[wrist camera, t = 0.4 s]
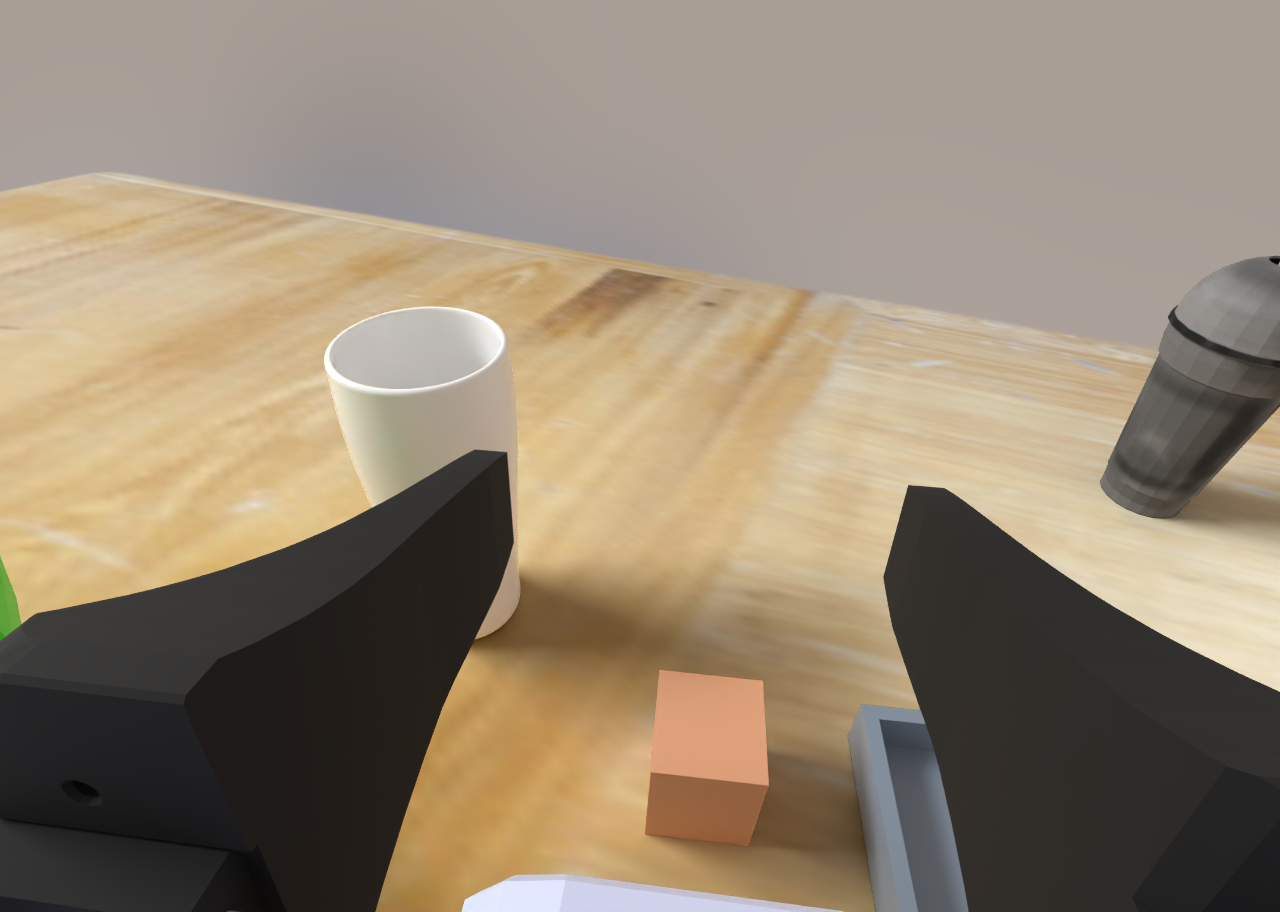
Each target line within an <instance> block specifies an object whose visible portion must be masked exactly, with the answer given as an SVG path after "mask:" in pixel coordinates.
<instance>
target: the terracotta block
mask: <svg viewBox="0 0 1280 912" xmlns="http://www.w3.org/2000/svg"><path fill="white" fill-rule="evenodd" d="M768 787H769V780H768V762H767V744H766V726H765V709H764V691H763V681H760V680H750V679H741V678H731V677H722V676H712V675H703V674H694V673H684V672H675V671H665V670H659V679H658V690H657V701H656V712H655V723H654V734H653V745H652V757H651V769H650V780H649V792H648V804H647V815H646V827H645V834H648V835H656V836H665V837H673V838H682V839H690V840H698V841H707V842H715V843H723V844H732V845H740V846H749V844H750V841H751V838H752V835H753V832H754V829H755V826H756V823H757V820H758V817H759V814H760V811H761V808H762V805H763V802H764V799H765V796H766V793H767V790H768Z"/></svg>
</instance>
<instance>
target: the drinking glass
mask: <svg viewBox="0 0 1280 912" xmlns="http://www.w3.org/2000/svg"><path fill="white" fill-rule="evenodd" d="M324 366H325V369H326V373H327V378H328V382H329V386H330V391H331V395H332V399H333V403H334V406H335V410H336V414H337V417H338V421H339V424H340V427H341V431H342V434H343V437H344V440H345V443H346V446H347V449H348V452H349V455H350V457H351V460H352V462H353V465H354V468H355V470H356V472H357V475H358V477H359V480H360V482H361V484H362V487H363V489H364V491H365V493H366V496H367V498H368V500H369V503H370V505H371V507H374V506H376V505H378V504H380V503H382V502H384V501H386V500H387V499H389V498H391V497H393V496H395V495H397V494H398V493H400V492H402V491H404V490H405V489H407V488H409V487H410V486H412V485H414V484H415V483H417V482H419V481H421V480H422V479H424V478H426V477H427V476H429V475H431V474H432V473H434V472H436V471H437V470H439V469H441V468H442V467H444V466H446V465H447V464H449V463H451V462H452V461H454V460H456V459H458V458H459V457H461V456H463V455H465V454H467V453H469V452H471V451H473V450H475V449H476V450H488V451H500V452H507V456H508V469H509V482H510V495H511V508H512V521H513V534H514V544H513V548H512V551H511V554H510V557H509V561H508V564H507V567H506V570H505V573H504V576H503V579H502V582H501V585H500V588H499V590H498V592H497V594H496V596H495V599H494V601H493V603H492V605H491V607H490V609H489V611H488V613H487V615H486V617H485V619H484V621H483V623H482V626H481V628H480V630H479V632H478V634H477V636H476V638H475V639H478V638H482V637H484V636H487V635H489V634H491V633H493V632H494V631H496V630H497V629H499V628H500V627H501V626H503V625H504V624H505V623H506V622H507V621H508V620H509V619H510V617H511V616H512V615H513V613H514V611H515V610H516V608H517V605H518V602H519V599H520V591H521V588H520V577H519V569H518V479H519V433H518V413H517V401H516V392H515V383H514V376H513V369H512V362H511V356H510V351H509V343H508V339H507V336H506V334H505V332H504V330H503V329H502V328H501V327H500V326H499V325H498V324H497V323H496V322H494V321H493V320H491V319H489V318H488V317H485V316H483V315H481V314H478V313H475V312H472V311H468V310H463V309H458V308H450V307H416V308H407V309H400V310H395V311H390V312H386V313H382V314H379V315H376V316H373V317H370V318H367V319H365V320H363V321H360V322H358V323H356V324H354V325H352V326H351V327H349V328H347V329H346V330H344V331H343V332H341V333H340V334H339V335H338V336H337V337H336V338H335V339H334V340H333V341H332V342H331V343H330V345H329V346H328V348H327V350H326V353H325V356H324Z"/></svg>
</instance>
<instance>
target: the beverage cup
mask: <svg viewBox="0 0 1280 912" xmlns="http://www.w3.org/2000/svg"><path fill="white" fill-rule="evenodd" d="M1168 319H1169V321H1170V322H1169V324H1168V326H1167V328H1166V330H1165V331H1164V334H1163V337H1162V340H1161V344H1160V347H1159V352H1160V353H1159V355H1158V357H1157V359H1156V361H1155V364H1154V366H1153V368H1152V370H1151V372H1150V374H1149V376H1148V378H1147V380H1146V383H1145V385H1144V387H1143V389H1142V391H1141V393H1140V395H1139V397H1138V399H1137V402H1136V404H1135V406H1134V408H1133V410H1132V412H1131V414H1130V416H1129V418H1128V421H1127V423H1126V425H1125V427H1124V429H1123V431H1122V433H1121V435H1120V437H1119V439H1118V442H1117V444H1116V446H1115V448H1114V450H1113V452H1112V454H1111V456H1110V458H1109V461H1108V465H1107V468H1106V470H1105V473H1104V475H1103V477H1102V479H1101V480H1100V483H1101V488H1102V489H1103V490H1104V492H1105V493H1106V495H1107V496H1109V497H1110V498H1111V499H1112V500H1113V501H1114V502H1116V503H1118V504H1119V505H1121V506H1122V507H1124V508H1126V509H1128V510H1131V511H1133V512H1135V513H1138V514H1141V515H1145V516H1149V517H1155V518H1168V517H1173V516H1174V515H1176V514H1178V513H1179V512H1180V510H1181V509H1182V507H1183V506H1185V505H1186V504H1187V503H1188V502H1189V501H1190V500H1191V499H1192V498H1194V497H1196V496H1197V495H1198V493H1199V492H1200V491H1201V490H1202V489H1203V488H1204V487H1205V486H1206V485H1207V484H1208V483H1209V482H1210V481H1211V479H1212V478H1213V477H1214V476H1215V475H1216V474H1217V473H1218V472H1219V471H1220V470H1221V469H1222V468H1223V467H1224V466H1225V464H1226V463H1227V462H1228V461H1229V460H1230V459H1231V458H1232V457H1233V456H1234V455H1235V454H1236V453H1237V452H1238V451H1239V449H1240V448H1241V447H1242V446H1243V445H1244V444H1245V443H1246V442H1247V441H1248V440H1249V439H1250V438H1251V437H1252V436H1253V434H1254V433H1255V432H1256V431H1257V430H1258V429H1259V428H1260V427H1261V426H1262V425H1263V424H1264V423H1265V422H1266V421H1267V419H1268V418H1269V417H1270V416H1271V415H1272V414H1273V413H1274V412H1275V411H1276V410H1277V409H1278V408H1279V407H1280V256H1269V257H1268V256H1267V257H1256V258H1251V259H1246V260H1243V261H1240V262H1237V263H1234V264H1231V265H1229V266H1226V267H1224V268H1222V269H1220V270H1218V271H1215V272H1213V273H1212V274H1210V275H1209V276H1207V277H1205V278H1204V279H1202V280H1201V281H1200V282H1199V283H1198V284H1196V285H1195V286H1194V287H1193V288H1192V289H1191V290H1190V291H1189V292H1188V293H1187V294H1186V295H1185V297H1184V298H1183V299H1182V301H1181V302H1180V304H1179V305H1177V306H1176V307H1175V308H1174V309H1173V310H1172V311H1171V313H1170V314H1169V316H1168Z"/></svg>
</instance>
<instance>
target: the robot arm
mask: <svg viewBox="0 0 1280 912" xmlns="http://www.w3.org/2000/svg"><path fill="white" fill-rule="evenodd" d="M513 544H514V534H513V521H512V508H511V495H510V482H509V469H508V456H507V452H500V451H488V450H476V449H475V450H473V451H471V452H469V453H467V454H465V455H463V456H461V457H459V458H458V459H456V460H454V461H452V462H451V463H449V464H447V465H446V466H444V467H442V468H441V469H439V470H437V471H436V472H434V473H432V474H431V475H429V476H427V477H426V478H424V479H422V480H421V481H419V482H417V483H415V484H414V485H412V486H410V487H409V488H407V489H405V490H404V491H402V492H400V493H398V494H397V495H395V496H393V497H391V498H389V499H387V500H386V501H384V502H382V503H380V504H378V505H376V506H374V507H372V508H371V509H369V510H367V511H365V512H363V513H361V514H359V515H357V516H355V517H354V518H352V519H350V520H348V521H346V522H344V523H342V524H339V525H337V526H335V527H333V528H331V529H329V530H327V531H324V532H322V533H320V534H317V535H315V536H313V537H310V538H308V539H306V540H303V541H301V542H298V543H296V544H294V545H291V546H289V547H286V548H283V549H281V550H278V551H275V552H272V553H269V554H266V555H264V556H261V557H258V558H255V559H252V560H249V561H246V562H244V563H241V564H238V565H235V566H232V567H229V568H226V569H223V570H220V571H217V572H213V573H210V574H206V575H203V576H200V577H196V578H193V579H189V580H186V581H182V582H178V583H174V584H171V585H167V586H163V587H159V588H155V589H151V590H147V591H143V592H139V593H135V594H130V595H126V596H121V597H116V598H112V599H107V600H102V601H97V602H92V603H87V604H82V605H78V606H73V607H68V608H63V609H58V610H53V611H47V612H41V613H37V614H35V615H33V616H32V617H30V618H29V619H28V620H26V621H25V622H24V623H23V624H21V625H20V626H19V627H17V628H16V629H15V630H14V631H12V632H11V633H10V634H8V635H7V636H6V637H5V638H3V639H2V640H1V641H0V912H375V911H376V907H377V904H378V900H379V897H380V893H381V890H382V887H383V883H384V880H385V877H386V873H387V870H388V867H389V864H390V861H391V858H392V854H393V851H394V848H395V845H396V842H397V838H398V835H399V832H400V829H401V826H402V822H403V819H404V816H405V813H406V810H407V807H408V804H409V801H410V798H411V795H412V792H413V789H414V786H415V783H416V780H417V777H418V775H419V772H420V769H421V766H422V763H423V760H424V757H425V754H426V751H427V749H428V746H429V743H430V740H431V738H432V735H433V732H434V729H435V727H436V724H437V721H438V718H439V716H440V713H441V710H442V707H443V705H444V703H445V701H446V698H447V696H448V694H449V691H450V689H451V687H452V685H453V683H454V680H455V678H456V676H457V674H458V672H459V670H460V668H461V666H462V664H463V662H464V660H465V658H466V656H467V654H468V652H469V650H470V648H471V646H472V644H473V642H474V640H475V638H476V636H477V634H478V632H479V630H480V628H481V626H482V623H483V621H484V619H485V617H486V615H487V613H488V611H489V609H490V607H491V605H492V603H493V601H494V599H495V596H496V594H497V592H498V590H499V588H500V585H501V582H502V579H503V576H504V573H505V570H506V567H507V564H508V561H509V557H510V554H511V551H512V548H513ZM884 583H885V589H886V595H887V601H888V607H889V612H890V617H891V622H892V627H893V630H894V633H895V636H896V639H897V642H898V645H899V648H900V651H901V654H902V657H903V660H904V663H905V666H906V669H907V672H908V675H909V678H910V681H911V683H912V686H913V689H914V692H915V695H916V698H917V701H918V704H919V707H920V710H921V713H922V715H923V718H924V721H925V724H926V727H927V730H928V733H929V736H930V739H931V742H932V745H933V749H934V752H935V756H936V759H937V762H938V766H939V770H940V775H941V779H942V783H943V788H944V792H945V797H946V801H947V806H948V810H949V814H950V819H951V823H952V828H953V833H954V838H955V843H956V848H957V853H958V858H959V863H960V868H961V873H962V878H963V883H964V888H965V894H966V899H967V905H968V911H969V912H1280V692H1279V691H1277V690H1275V689H1272V688H1270V687H1268V686H1266V685H1264V684H1261V683H1259V682H1257V681H1255V680H1252V679H1250V678H1248V677H1246V676H1244V675H1242V674H1239V673H1237V672H1235V671H1233V670H1231V669H1229V668H1227V667H1225V666H1223V665H1221V664H1219V663H1217V662H1215V661H1213V660H1211V659H1209V658H1207V657H1205V656H1203V655H1201V654H1199V653H1197V652H1195V651H1193V650H1191V649H1189V648H1187V647H1185V646H1183V645H1181V644H1179V643H1177V642H1175V641H1173V640H1172V639H1170V638H1168V637H1166V636H1164V635H1162V634H1160V633H1158V632H1157V631H1155V630H1153V629H1151V628H1150V627H1148V626H1146V625H1144V624H1143V623H1141V622H1139V621H1138V620H1136V619H1134V618H1132V617H1131V616H1129V615H1127V614H1125V613H1124V612H1122V611H1120V610H1118V609H1117V608H1115V607H1113V606H1112V605H1110V604H1108V603H1107V602H1105V601H1104V600H1102V599H1100V598H1099V597H1097V596H1095V595H1094V594H1092V593H1091V592H1089V591H1088V590H1086V589H1085V588H1083V587H1082V586H1080V585H1079V584H1077V583H1076V582H1074V581H1073V580H1071V579H1070V578H1068V577H1067V576H1065V575H1064V574H1062V573H1061V572H1059V571H1058V570H1056V569H1055V568H1054V567H1052V566H1051V565H1049V564H1048V563H1046V562H1045V561H1044V560H1042V559H1041V558H1039V557H1038V556H1037V555H1035V554H1034V553H1033V552H1031V551H1030V550H1028V549H1027V548H1026V547H1024V546H1023V545H1022V544H1020V543H1019V542H1018V541H1016V540H1015V539H1014V538H1012V537H1011V536H1010V535H1008V534H1007V533H1006V532H1004V531H1003V530H1002V529H1000V528H999V527H998V526H996V525H995V524H994V523H992V522H991V521H990V520H988V519H987V518H986V517H985V516H983V515H982V514H981V513H979V512H978V511H977V510H975V509H974V508H973V507H971V506H970V505H969V504H967V503H966V502H964V501H963V500H962V499H960V498H959V497H957V496H956V495H954V494H953V493H951V492H950V491H948V490H947V489H945V488H936V487H924V486H912V485H908V488H907V492H906V496H905V499H904V503H903V507H902V510H901V514H900V518H899V522H898V525H897V529H896V533H895V536H894V540H893V544H892V547H891V551H890V555H889V558H888V562H887V566H886V569H885V573H884ZM462 912H844V911H838V910H831V909H823V908H816V907H808V906H801V905H793V904H786V903H779V902H771V901H764V900H756V899H749V898H742V897H734V896H727V895H719V894H712V893H704V892H697V891H690V890H682V889H675V888H667V887H660V886H653V885H645V884H638V883H630V882H623V881H615V880H608V879H601V878H593V877H586V876H578V875H571V874H550V875H514V876H512V877H510V878H508V879H506V880H504V881H502V882H499V883H497V884H495V885H493V886H491V887H489V888H487V889H484V890H482V891H480V892H478V893H476V894H475V895H473V896H471V897H469V898H467V899H466V900H465V902H464V905H463V909H462Z"/></svg>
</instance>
